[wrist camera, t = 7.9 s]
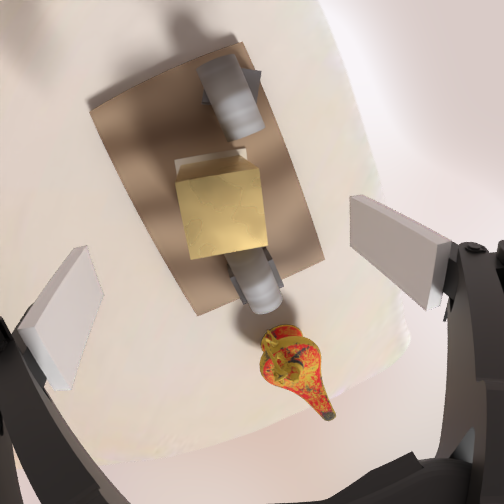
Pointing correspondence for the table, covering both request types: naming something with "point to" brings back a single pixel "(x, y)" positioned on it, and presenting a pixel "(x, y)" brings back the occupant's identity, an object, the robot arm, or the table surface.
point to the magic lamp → (295, 367)
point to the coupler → (221, 206)
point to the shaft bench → (202, 149)
